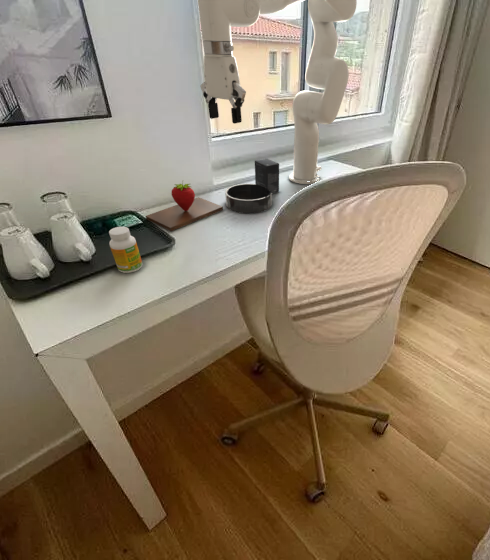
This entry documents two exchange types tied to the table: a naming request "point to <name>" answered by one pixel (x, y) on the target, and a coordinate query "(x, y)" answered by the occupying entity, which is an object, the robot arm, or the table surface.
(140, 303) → the table surface
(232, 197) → the pan
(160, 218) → the cutting board
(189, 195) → the strawberry
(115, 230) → the supplement bottle
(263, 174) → the box
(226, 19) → the robot arm
